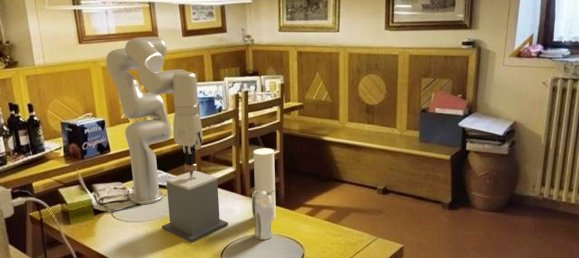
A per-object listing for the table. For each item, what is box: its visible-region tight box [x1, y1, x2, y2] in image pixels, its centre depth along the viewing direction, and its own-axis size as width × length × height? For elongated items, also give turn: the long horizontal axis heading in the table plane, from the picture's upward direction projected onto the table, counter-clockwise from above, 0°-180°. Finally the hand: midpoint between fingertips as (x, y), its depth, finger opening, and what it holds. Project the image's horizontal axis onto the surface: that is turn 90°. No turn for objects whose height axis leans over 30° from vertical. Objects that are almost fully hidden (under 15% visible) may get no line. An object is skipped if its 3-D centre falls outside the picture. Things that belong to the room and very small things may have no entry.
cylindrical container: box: [253, 147, 277, 221], centre depth 169 cm, size 7×7×25 cm
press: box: [161, 170, 229, 244], centre depth 164 cm, size 16×17×18 cm
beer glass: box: [251, 190, 273, 241], centre depth 157 cm, size 7×7×15 cm
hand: (190, 163), depth 159 cm, fingers closed
